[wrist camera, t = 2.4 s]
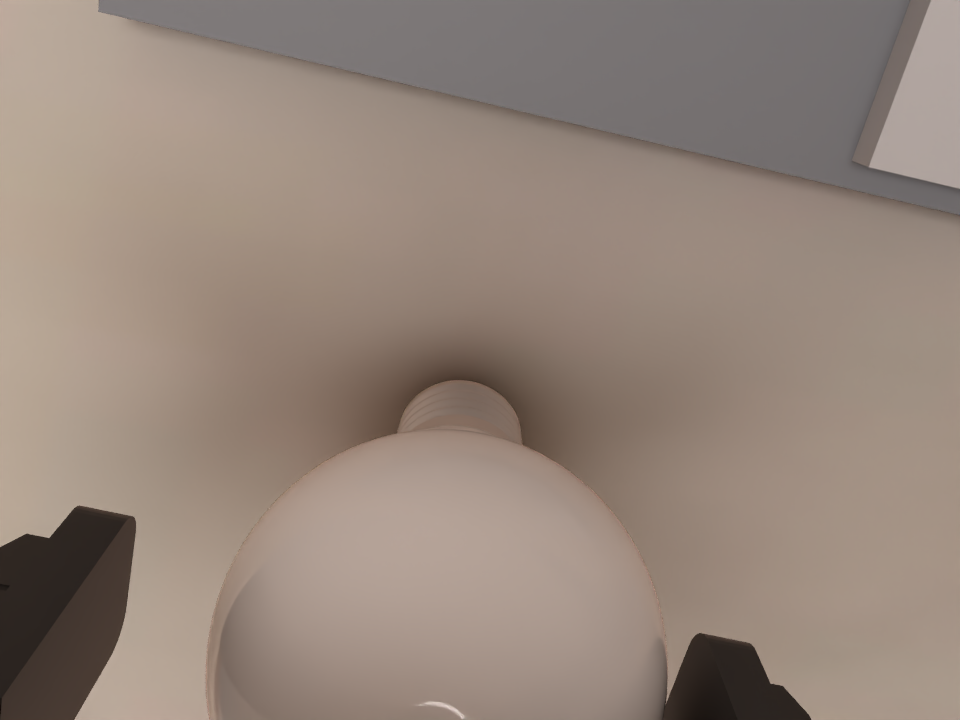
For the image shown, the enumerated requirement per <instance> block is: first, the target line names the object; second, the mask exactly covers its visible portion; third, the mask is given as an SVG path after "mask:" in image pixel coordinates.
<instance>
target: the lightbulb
mask: <svg viewBox="0 0 960 720" xmlns="http://www.w3.org/2000/svg"><path fill="white" fill-rule="evenodd" d="M205 677H206V699H207V708H208V715H209V720H663V717H664V711H665V705H666V696H667V683H668V658H667V644H666V635H665V629H664V623H663V618H662V613H661V609H660V605H659V601H658V598H657V594H656V591H655V588H654V585H653V582H652V580H651V577H650V575H649V572H648V570H647V567H646V565H645V563H644V561H643V559H642V557H641V555H640V553H639V551H638V549H637V547H636V545H635V544H634V542H633V540H632V539H631V537H630V536H629V534H628V532H627V531H626V529H625V528H624V526H623V525H622V524H621V522H620V521H619V519H618V518H617V517H616V516H615V514H614V513H613V512H612V511H611V509H610V508H609V507H608V506H607V505H606V504H605V503H604V501H603V500H602V499H601V498H600V497H599V496H598V495H597V494H596V493H595V492H594V491H593V490H592V489H591V488H590V487H588V486H587V485H586V484H585V483H584V482H583V481H581V480H580V479H579V478H578V477H577V476H575V475H574V474H573V473H571V472H570V471H569V470H567V469H566V468H564V467H563V466H561V465H560V464H558V463H557V462H555V461H553V460H552V459H550V458H548V457H547V456H545V455H543V454H541V453H539V452H537V451H535V450H533V449H531V448H528V447H526V446H524V445H522V436H521V427H520V423H519V420H518V417H517V415H516V413H515V411H514V409H513V408H512V406H511V405H510V404H509V403H508V401H507V400H506V399H505V398H504V397H503V396H501V395H500V394H499V393H498V392H496V391H495V390H493V389H491V388H489V387H487V386H485V385H483V384H480V383H477V382H472V381H466V380H452V381H445V382H441V383H438V384H435V385H432V386H430V387H428V388H427V389H425V390H423V391H422V392H420V393H419V394H418V395H417V396H416V397H414V399H413V400H412V401H411V402H410V403H409V404H408V405H407V407H406V408H405V410H404V412H403V414H402V417H401V420H400V423H399V427H398V431H397V433H396V434H391V435H387V436H383V437H379V438H376V439H373V440H370V441H367V442H364V443H362V444H359V445H356V446H354V447H352V448H349V449H347V450H345V451H343V452H341V453H339V454H337V455H335V456H333V457H332V458H330V459H328V460H326V461H325V462H323V463H321V464H320V465H318V466H317V467H315V468H314V469H312V470H311V471H310V472H308V473H307V474H305V475H304V476H303V477H301V478H300V479H299V480H298V481H296V482H295V483H294V484H293V485H292V486H291V487H289V488H288V489H287V490H286V491H285V492H284V493H283V494H282V495H281V496H280V497H279V498H278V499H277V500H276V501H275V502H274V503H273V504H272V505H271V506H270V507H269V509H268V510H267V511H266V512H265V513H264V514H263V516H262V517H261V518H260V519H259V521H258V522H257V523H256V525H255V526H254V527H253V529H252V530H251V532H250V533H249V535H248V536H247V538H246V539H245V541H244V542H243V544H242V546H241V547H240V549H239V551H238V553H237V554H236V556H235V558H234V560H233V562H232V564H231V566H230V568H229V570H228V573H227V575H226V577H225V580H224V582H223V585H222V587H221V590H220V593H219V596H218V599H217V602H216V606H215V609H214V613H213V617H212V621H211V626H210V631H209V637H208V644H207V654H206V674H205Z"/></svg>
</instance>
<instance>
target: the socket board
mask: <svg viewBox="0 0 960 720" xmlns="http://www.w3.org/2000/svg"><path fill="white" fill-rule="evenodd" d="M98 12H102V13H106V14H110V15H115V16H119V17H123V18H127V19H132V20H136V21H140V22H144V23H148V24H153V25H157V26H161V27H165V28H170V29H174V30H178V31H182V32H187V33H191V34H195V35H199V36H203V37H208V38H212V39H216V40H220V41H225V42H229V43H233V44H237V45H242V46H246V47H250V48H254V49H259V50H263V51H267V52H271V53H275V54H280V55H284V56H288V57H292V58H297V59H301V60H305V61H309V62H314V63H318V64H322V65H326V66H330V67H335V68H339V69H343V70H347V71H352V72H356V73H360V74H364V75H369V76H373V77H377V78H381V79H385V80H390V81H394V82H398V83H402V84H407V85H411V86H415V87H419V88H424V89H428V90H432V91H436V92H440V93H445V94H449V95H453V96H457V97H462V98H466V99H470V100H474V101H479V102H483V103H487V104H491V105H496V106H500V107H504V108H508V109H512V110H517V111H521V112H525V113H529V114H534V115H538V116H542V117H546V118H551V119H555V120H559V121H563V122H567V123H572V124H576V125H580V126H584V127H589V128H593V129H597V130H601V131H606V132H610V133H614V134H618V135H622V136H627V137H631V138H635V139H639V140H644V141H648V142H652V143H656V144H661V145H665V146H669V147H673V148H677V149H682V150H686V151H690V152H694V153H699V154H703V155H707V156H711V157H716V158H720V159H724V160H728V161H733V162H737V163H741V164H745V165H749V166H754V167H758V168H762V169H766V170H771V171H775V172H779V173H783V174H788V175H792V176H796V177H800V178H804V179H809V180H813V181H817V182H821V183H826V184H830V185H834V186H838V187H843V188H847V189H851V190H855V191H859V192H864V193H868V194H872V195H876V196H881V197H885V198H889V199H893V200H898V201H902V202H906V203H910V204H915V205H919V206H923V207H927V208H931V209H936V210H940V211H944V212H948V213H953V214H957V215H960V0H99V10H98Z"/></svg>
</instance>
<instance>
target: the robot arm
mask: <svg viewBox="0 0 960 720" xmlns="http://www.w3.org/2000/svg"><path fill="white" fill-rule="evenodd" d="M135 533H136V521H135V518H134V517H133V516H128V515H123V514H118V513H113V512H108V511H103V510H98V509H94V508H89V507H84V506H77V507H76V508H74V509H73V510H72V512H71V513H70V514H69V515H68V516H67V518H66V519H65V520H64V521H63V522H62V524H61V525H60V526H59V527H58V528H57V530H56V531H55V532H54V533H53V534H52V536H51V537H50V538H45V537H40V536H35V535H30V534H25V535H23V536H21V537H19V538H17V539H15V540H13V541H12V542H10V543H8V544H6V545H4V546H2V547H0V720H74V719H75V717H76V716H77V714H78V712H79V710H80V709H81V707H82V705H83V704H84V702H85V700H86V698H87V697H88V695H89V693H90V691H91V690H92V688H93V686H94V684H95V683H96V681H97V679H98V678H99V676H100V674H101V672H102V671H103V669H104V667H105V665H106V664H107V662H108V660H109V658H110V657H111V655H112V653H113V651H114V648H115V646H116V643H117V641H118V638H119V635H120V632H121V629H122V625H123V622H124V617H125V613H126V606H127V598H128V590H129V582H130V574H131V566H132V557H133V549H134V541H135ZM663 720H811V718H810V716H809V715H808V714H807V712H806V711H805V710H804V709H803V708H802V707H801V706H800V705H799V704H798V702H797V701H796V700H795V699H794V698H793V697H792V696H791V695H790V694H789V693H788V691H787V690H786V689H785V688H784V687H783V686H780V685H775V684H770V682H769V679H768V677H767V675H766V673H765V670H764V668H763V666H762V664H761V661H760V659H759V657H758V655H757V652H756V650H755V648H754V647H753V646H752V645H751V644H750V643H746V642H742V641H737V640H732V639H727V638H722V637H717V636H712V635H707V634H702V633H699V634H697V635H696V636H695V637H694V638H693V639H692V641H691V643H690V645H689V647H688V650H687V652H686V655H685V657H684V660H683V662H682V665H681V667H680V670H679V672H678V675H677V678H676V680H675V683H674V685H673V688H672V690H671V693H670V695H669V698H668V700H667V703H666V706H665V711H664V717H663Z"/></svg>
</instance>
